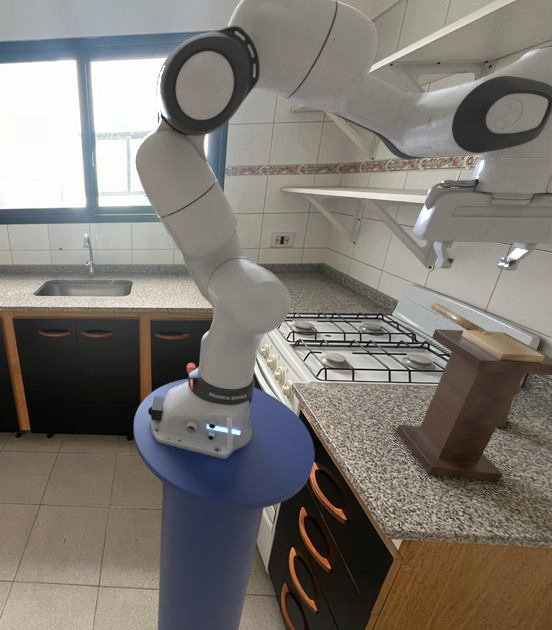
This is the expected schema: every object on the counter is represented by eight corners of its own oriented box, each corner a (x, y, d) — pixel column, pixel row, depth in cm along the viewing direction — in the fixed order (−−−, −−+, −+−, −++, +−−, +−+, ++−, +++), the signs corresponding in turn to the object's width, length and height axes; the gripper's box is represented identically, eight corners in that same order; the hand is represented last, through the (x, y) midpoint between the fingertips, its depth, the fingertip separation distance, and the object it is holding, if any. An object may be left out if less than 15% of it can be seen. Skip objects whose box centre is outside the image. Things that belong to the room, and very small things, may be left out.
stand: (429, 474, 68) (481, 360, 57) (396, 431, 78) (435, 328, 68) (498, 481, 66) (566, 365, 55) (455, 436, 77) (504, 332, 66)
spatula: (500, 360, 57) (504, 351, 56) (417, 307, 78) (419, 301, 77) (541, 362, 56) (546, 354, 56) (447, 309, 77) (449, 302, 76)
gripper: (445, 180, 51) (415, 271, 56) (612, 180, 48) (562, 276, 53) (420, 179, 56) (395, 261, 62) (567, 178, 53) (526, 265, 59)
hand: (473, 268), depth 57 cm, fingers open, 8 cm apart
